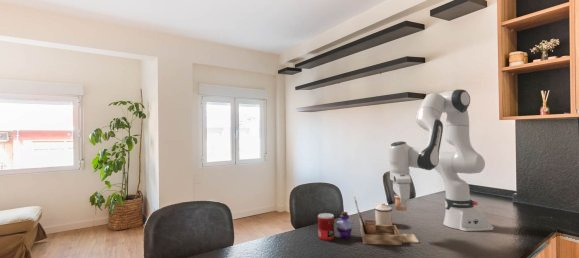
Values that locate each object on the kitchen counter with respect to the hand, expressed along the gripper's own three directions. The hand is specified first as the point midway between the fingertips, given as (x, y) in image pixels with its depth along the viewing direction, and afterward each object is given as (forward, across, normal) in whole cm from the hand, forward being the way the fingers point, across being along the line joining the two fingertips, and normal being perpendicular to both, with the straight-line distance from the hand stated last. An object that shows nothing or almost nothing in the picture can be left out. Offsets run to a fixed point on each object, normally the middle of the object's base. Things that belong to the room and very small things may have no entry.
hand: (401, 204), depth 138 cm
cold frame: (+16, +1, -12) cm, 20 cm away
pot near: (+2, 0, 0) cm, 2 cm away
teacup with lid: (+16, -21, -6) cm, 28 cm away
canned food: (+15, +3, -36) cm, 39 cm away
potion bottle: (+15, +1, -27) cm, 31 cm away
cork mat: (+16, +1, +2) cm, 16 cm away
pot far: (+15, -2, -15) cm, 21 cm away
